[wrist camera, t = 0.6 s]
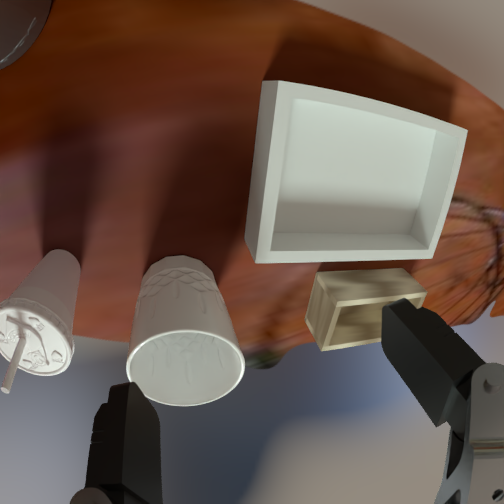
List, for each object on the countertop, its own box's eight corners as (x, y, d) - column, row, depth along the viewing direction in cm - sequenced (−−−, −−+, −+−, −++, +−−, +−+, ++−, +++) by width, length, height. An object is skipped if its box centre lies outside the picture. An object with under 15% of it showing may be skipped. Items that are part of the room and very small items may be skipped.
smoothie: (73, 223, 23) (9, 346, 11) (107, 285, 27) (83, 420, 15) (18, 250, 23) (-52, 366, 11) (53, 305, 26) (14, 430, 14)
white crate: (244, 239, 28) (255, 263, 24) (262, 80, 22) (278, 80, 18) (409, 240, 32) (431, 258, 29) (439, 121, 26) (467, 130, 23)
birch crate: (303, 318, 34) (321, 351, 30) (315, 270, 31) (337, 301, 27) (385, 309, 37) (407, 335, 32) (401, 266, 34) (427, 291, 30)
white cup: (191, 332, 31) (202, 416, 23) (120, 298, 28) (108, 384, 19) (239, 275, 29) (269, 356, 21) (164, 231, 26) (163, 309, 17)
